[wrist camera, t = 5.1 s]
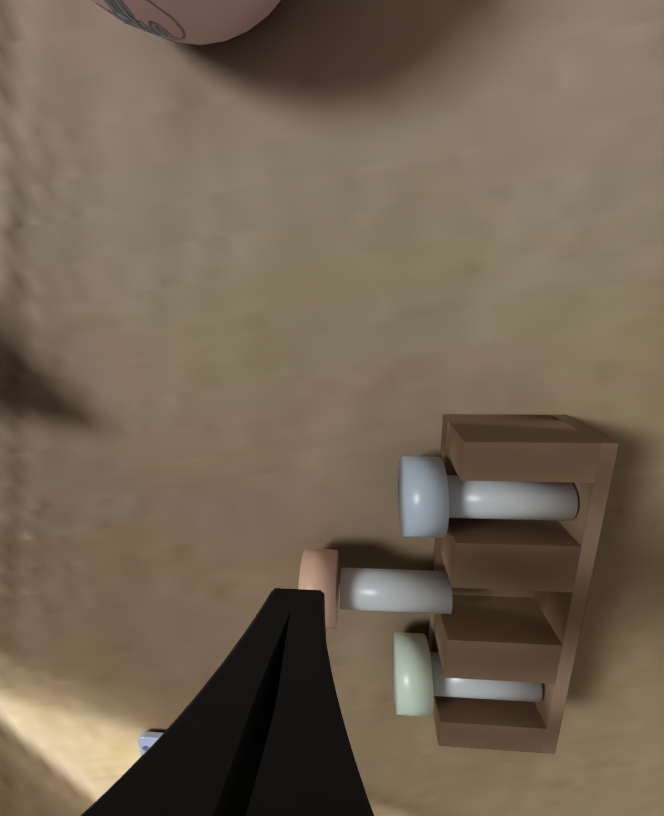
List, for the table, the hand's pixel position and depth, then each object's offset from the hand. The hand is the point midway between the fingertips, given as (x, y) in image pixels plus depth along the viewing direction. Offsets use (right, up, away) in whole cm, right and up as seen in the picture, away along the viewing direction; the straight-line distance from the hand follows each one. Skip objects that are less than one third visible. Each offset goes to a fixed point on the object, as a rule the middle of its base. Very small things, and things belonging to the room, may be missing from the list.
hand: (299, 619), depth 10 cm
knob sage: (+8, -7, +10) cm, 15 cm away
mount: (+9, -2, +9) cm, 13 cm away
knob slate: (+7, +2, +8) cm, 11 cm away
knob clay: (+3, -2, +9) cm, 10 cm away
